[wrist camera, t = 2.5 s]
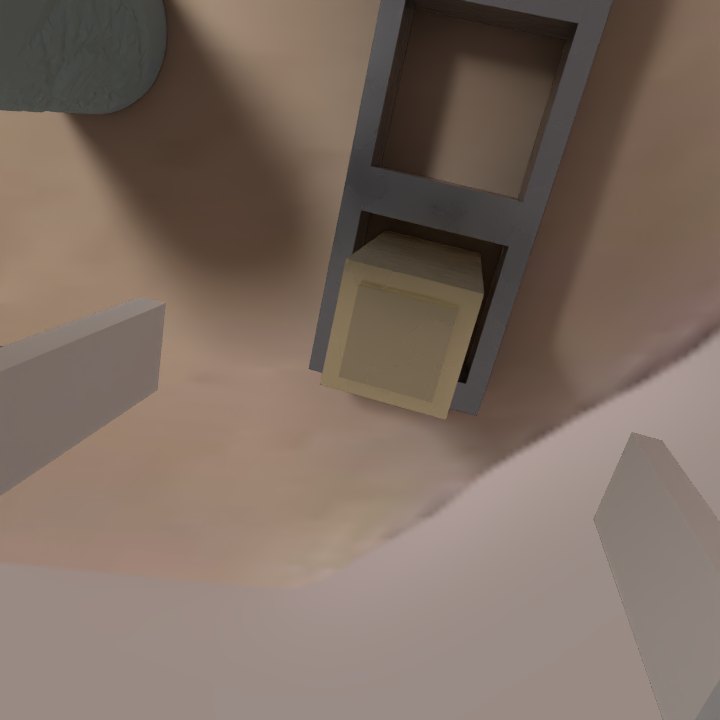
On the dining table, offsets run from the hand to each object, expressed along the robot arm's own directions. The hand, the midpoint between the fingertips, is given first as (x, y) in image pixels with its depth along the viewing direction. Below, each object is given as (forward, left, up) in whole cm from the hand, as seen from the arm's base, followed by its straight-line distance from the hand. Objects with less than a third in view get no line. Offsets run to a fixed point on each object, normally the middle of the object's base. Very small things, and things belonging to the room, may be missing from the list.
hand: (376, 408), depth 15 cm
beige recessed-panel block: (0, 0, -16) cm, 16 cm away
